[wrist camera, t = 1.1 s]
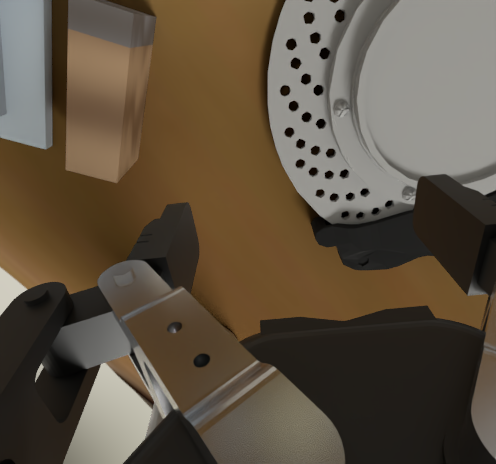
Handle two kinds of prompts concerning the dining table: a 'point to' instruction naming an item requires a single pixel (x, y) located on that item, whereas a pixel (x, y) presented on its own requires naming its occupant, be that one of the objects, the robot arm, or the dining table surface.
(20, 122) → the jig
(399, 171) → the brake disc
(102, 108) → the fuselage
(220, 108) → the dining table surface
